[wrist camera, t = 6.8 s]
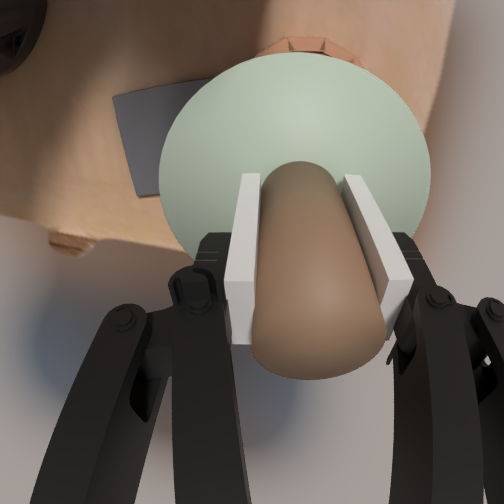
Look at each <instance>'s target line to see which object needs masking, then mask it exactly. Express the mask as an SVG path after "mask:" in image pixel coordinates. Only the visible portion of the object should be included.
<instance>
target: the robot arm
mask: <svg viewBox="0 0 504 504" xmlns="http://www.w3.org/2000/svg"><path fill="white" fill-rule="evenodd" d="M45 12H46V0H0V77H1V76H3V75H6V74H8V73H10V72H12V71H13V70H14V69H16V68H17V67H18V66H19V65H20V64H21V63H22V62H23V61H24V60H25V59H26V57H27V56H28V55H29V53H30V52H31V50H32V48H33V47H34V45H35V43H36V41H37V39H38V36H39V34H40V31H41V28H42V25H43V22H44V17H45ZM341 196H342V199H343V201H344V204H345V206H346V209H347V212H348V214H349V217H350V219H351V222H352V225H353V227H354V230H355V233H356V236H357V238H358V241H359V244H360V247H361V249H362V252H363V255H364V258H365V261H366V264H367V267H368V270H369V273H370V276H371V279H372V282H373V285H374V288H375V291H376V295H377V298H378V301H379V304H380V308H381V311H382V314H383V318H384V321H385V325H386V329H387V335H386V340H385V341H387V340H389V338H390V336H391V334H392V332H393V330H394V332H395V335H396V339H397V340H396V342H395V344H394V346H393V348H392V350H391V352H390V354H389V356H388V358H387V362H386V364H387V365H389V364H390V362H391V360H392V358H393V368H394V369H393V370H394V442H393V462H392V476H391V488H390V497H389V504H483V492H484V490H483V489H485V494H486V499H487V504H504V304H503V303H502V302H500V301H499V300H497V299H494V298H488V297H486V298H484V299H482V300H481V301H480V302H479V304H478V306H477V307H476V308H475V307H471V306H466V305H462V304H459V303H456V301H455V298H454V297H453V295H452V294H451V293H450V292H449V291H448V290H446V289H444V288H443V287H440V286H437V285H436V283H435V280H434V278H433V277H432V275H431V272H430V271H429V269H428V267H427V265H426V263H425V261H424V260H423V257H422V255H421V253H420V252H419V250H418V248H417V246H416V244H415V243H414V241H413V240H412V239H411V238H410V237H409V236H408V235H407V234H406V233H404V232H391V230H390V228H389V226H388V224H387V222H386V220H385V218H384V217H383V215H382V213H381V211H380V209H379V207H378V205H377V203H376V202H375V200H374V198H373V196H372V194H371V193H370V191H369V189H368V187H367V186H366V184H365V182H364V180H363V179H362V177H361V175H349V174H344V176H343V185H342V194H341ZM260 203H261V176H260V173H242V179H241V184H240V190H239V195H238V201H237V206H236V212H235V218H234V224H233V229H232V232H208V234H207V235H206V236H205V237H204V238H203V239H202V240H201V241H200V244H199V247H198V251H197V254H196V258H195V261H194V265H192V266H188V267H184V268H182V269H180V270H178V271H176V272H175V274H173V276H172V277H171V278H170V280H169V283H168V287H169V290H170V294H171V297H172V301H173V304H174V305H173V306H171V307H169V308H166V309H163V310H159V311H154V312H150V313H146V312H145V310H144V309H143V308H142V307H140V306H139V305H135V304H123V305H120V306H117V307H115V308H114V309H112V310H111V311H109V312H108V314H107V315H106V316H105V318H104V319H103V321H102V324H101V325H100V327H99V329H98V331H97V333H96V336H95V338H94V340H93V342H92V344H91V346H90V348H89V350H88V352H87V354H86V357H85V359H84V361H83V363H82V365H81V367H80V369H79V372H78V374H77V376H76V378H75V381H74V383H73V385H72V387H71V390H70V392H69V394H68V397H67V399H66V402H65V404H64V407H63V409H62V411H61V414H60V416H59V419H58V422H57V424H56V427H55V429H54V432H53V434H52V437H51V440H50V442H49V445H48V448H47V451H46V453H45V456H44V459H43V462H42V465H41V468H40V471H39V474H38V477H37V480H36V483H35V487H34V490H33V493H32V497H31V500H30V504H134V503H135V499H136V494H137V491H138V487H139V483H140V479H141V475H142V470H143V467H144V463H145V459H146V455H147V452H148V448H149V444H150V440H151V437H152V433H153V429H154V426H155V422H156V418H157V415H158V412H159V408H160V404H161V401H162V398H163V394H164V390H165V387H166V383H167V380H168V377H169V376H172V442H173V469H174V488H175V503H176V504H252V503H251V497H250V491H249V484H248V477H247V470H246V463H245V457H244V450H243V443H242V436H241V428H240V420H239V412H238V405H237V397H236V389H235V382H234V373H233V365H232V356H231V350H230V346H231V338H232V343H233V344H251V339H252V323H253V312H254V308H255V296H256V278H257V260H258V241H259V222H260ZM487 356H488V357H489V359H490V361H491V363H490V365H487V364H486V363H485V361H484V360H485V358H486V357H487Z"/></svg>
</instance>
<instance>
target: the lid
mask: <svg viewBox="0 0 504 504" xmlns="http://www.w3.org/2000/svg"><path fill="white" fill-rule="evenodd" d="M242 173H260V176H261V203H260V222H259V241H258V260H257V278H256V296H255V308H254V312H253V323H252V339H251V349H252V353H253V355H254V358H255V359H256V360H257V362H258V363H259V364H260V365H261V366H263V367H264V368H265V369H267V370H268V371H270V372H272V373H275V374H277V375H280V376H283V377H287V378H293V379H301V380H318V379H326V378H332V377H336V376H340V375H343V374H346V373H349V372H351V371H353V370H356V369H358V368H359V367H361V366H363V365H364V364H366V363H367V362H369V361H370V360H371V359H373V358H374V357H375V356H376V355H377V354H378V352H379V351H380V350H381V348H382V347H383V345H384V343H385V340H386V335H387V329H386V325H385V321H384V318H383V314H382V311H381V308H380V304H379V301H378V298H377V295H376V291H375V288H374V285H373V282H372V279H371V276H370V273H369V270H368V267H367V264H366V261H365V258H364V255H363V252H362V249H361V247H360V244H359V241H358V238H357V236H356V233H355V230H354V227H353V225H352V222H351V219H350V217H349V214H348V212H347V209H346V206H345V204H344V201H343V199H342V196H341V194H342V185H343V176H344V174H349V175H361V177H362V179H363V180H364V182H365V184H366V186H367V187H368V189H369V191H370V193H371V194H372V196H373V198H374V200H375V202H376V203H377V205H378V207H379V209H380V211H381V213H382V215H383V217H384V218H385V220H386V222H387V224H388V226H389V228H390V230H391V232H404V233H406V234H407V235H408V236H409V237H410V238H412V236H413V234H414V233H415V231H416V229H417V227H418V225H419V223H420V221H421V219H422V217H423V214H424V211H425V208H426V205H427V201H428V196H429V191H430V176H431V169H430V160H429V153H428V149H427V145H426V141H425V138H424V135H423V133H422V131H421V128H420V126H419V124H418V122H417V120H416V118H415V117H414V115H413V114H412V112H411V110H410V109H409V107H408V106H407V105H406V104H405V102H404V101H403V100H402V99H401V98H400V97H399V95H398V94H397V93H396V92H395V91H394V90H392V89H391V88H390V87H389V86H388V85H387V84H386V83H384V82H383V81H382V80H381V79H379V78H378V77H376V76H374V75H373V74H371V73H370V72H368V71H366V70H365V69H363V68H361V67H358V66H356V65H354V64H351V63H349V62H347V61H344V60H341V59H337V58H333V57H329V56H325V55H321V54H316V53H307V52H279V53H273V54H268V55H263V56H259V57H256V58H253V59H250V60H247V61H244V62H241V63H239V64H237V65H235V66H233V67H231V68H230V69H228V70H226V71H224V72H222V73H221V74H219V75H218V76H217V77H215V78H214V79H213V80H211V81H210V82H209V83H207V84H206V85H205V86H203V87H202V88H201V89H200V90H199V91H198V92H197V93H196V94H195V95H194V96H193V97H192V98H191V99H190V100H189V101H188V102H187V103H186V105H185V106H184V107H183V109H182V110H181V112H180V113H179V114H178V116H177V117H176V119H175V121H174V123H173V125H172V127H171V128H170V130H169V132H168V134H167V137H166V140H165V143H164V146H163V149H162V154H161V159H160V165H159V191H160V199H161V203H162V207H163V210H164V214H165V217H166V219H167V221H168V224H169V226H170V228H171V230H172V232H173V234H174V235H175V237H176V239H177V240H178V242H179V243H180V245H181V246H182V247H183V248H184V250H185V251H186V252H187V253H188V255H190V256H191V257H192V258H193V259H194V260H195V258H196V254H197V251H198V247H199V244H200V241H201V240H202V239H203V238H204V237H205V236H206V235H207V234H208V232H232V229H233V224H234V218H235V212H236V206H237V201H238V195H239V190H240V184H241V179H242Z"/></svg>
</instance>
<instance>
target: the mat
mask: <svg viewBox="0 0 504 504" xmlns="http://www.w3.org/2000/svg"><path fill="white" fill-rule="evenodd" d="M213 79H214V78H209V79H201V80H194V81H187V82H181V83H174V84H169V85H163V86H158V87H153V88H148V89H143V90H138V91H134V92H129V93H125V94H121V95H117V96H114V97H112V99H113V103H114V108H115V112H116V117H117V121H118V126H119V130H120V134H121V138H122V142H123V146H124V150H125V154H126V158H127V162H128V166H129V169H130V173H131V177H132V180H133V184H134V188H135V191H136V195H137V196H141V195H150V194H160V191H159V165H160V159H161V154H162V149H163V146H164V143H165V140H166V137H167V134H168V132H169V130H170V128H171V127H172V125H173V123H174V121H175V119H176V117H177V116H178V114H179V113H180V112H181V110H182V109H183V107H184V106H185V105H186V103H187V102H188V101H189V100H190V99H191V98H192V97H193V96H194V95H195V94H196V93H197V92H198V91H199V90H200V89H201V88H202V87H203V86H205V85H206V84H207V83H209V82H210V81H211V80H213Z"/></svg>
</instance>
